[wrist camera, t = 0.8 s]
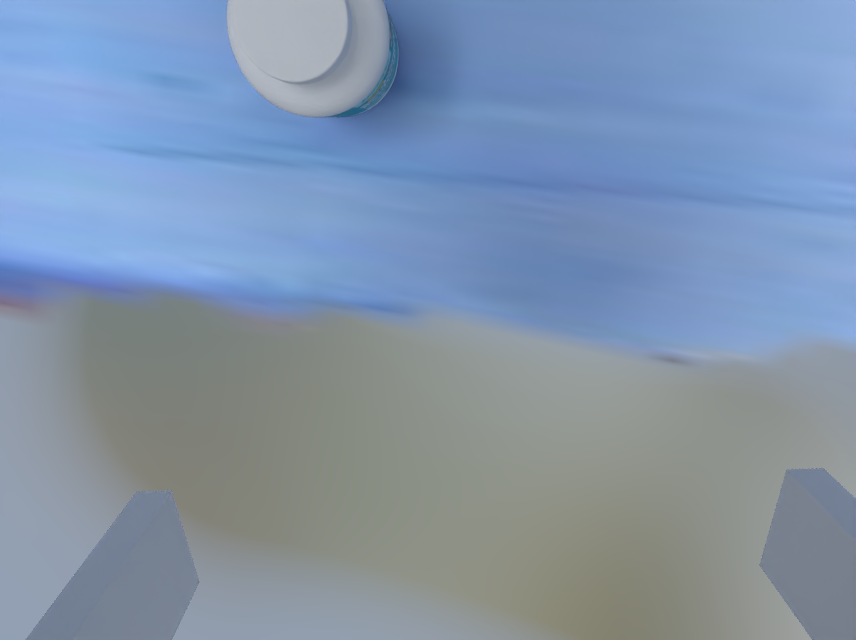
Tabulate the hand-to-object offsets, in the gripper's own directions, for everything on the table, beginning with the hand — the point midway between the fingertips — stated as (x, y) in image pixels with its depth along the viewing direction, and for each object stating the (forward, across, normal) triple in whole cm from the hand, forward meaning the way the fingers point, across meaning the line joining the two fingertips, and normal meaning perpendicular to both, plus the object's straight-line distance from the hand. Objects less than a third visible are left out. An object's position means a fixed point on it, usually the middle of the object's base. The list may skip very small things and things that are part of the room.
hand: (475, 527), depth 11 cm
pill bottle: (+29, -6, +12) cm, 31 cm away
